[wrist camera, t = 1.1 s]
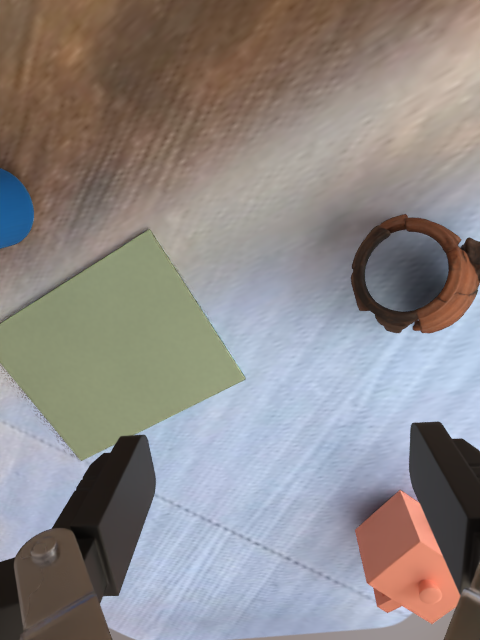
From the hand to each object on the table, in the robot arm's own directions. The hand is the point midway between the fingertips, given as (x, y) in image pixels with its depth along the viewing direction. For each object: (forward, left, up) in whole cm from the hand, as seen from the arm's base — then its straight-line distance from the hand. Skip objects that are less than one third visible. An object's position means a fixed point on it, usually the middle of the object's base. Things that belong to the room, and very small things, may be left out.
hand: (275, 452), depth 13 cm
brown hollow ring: (+6, +11, -25) cm, 28 cm away
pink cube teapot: (+30, -1, -25) cm, 39 cm away
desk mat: (0, -17, -25) cm, 30 cm away
